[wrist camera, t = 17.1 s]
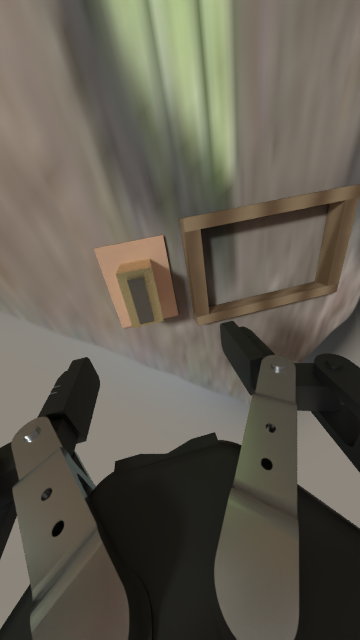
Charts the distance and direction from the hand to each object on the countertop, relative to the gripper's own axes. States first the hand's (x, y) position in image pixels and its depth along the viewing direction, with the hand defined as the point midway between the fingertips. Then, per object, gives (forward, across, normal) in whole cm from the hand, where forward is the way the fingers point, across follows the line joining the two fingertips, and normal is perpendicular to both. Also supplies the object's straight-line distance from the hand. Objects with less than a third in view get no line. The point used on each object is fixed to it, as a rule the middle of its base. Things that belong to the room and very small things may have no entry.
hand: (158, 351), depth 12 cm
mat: (+18, +1, +1) cm, 18 cm away
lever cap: (+18, +1, +1) cm, 18 cm away
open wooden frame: (+18, -18, +1) cm, 26 cm away
